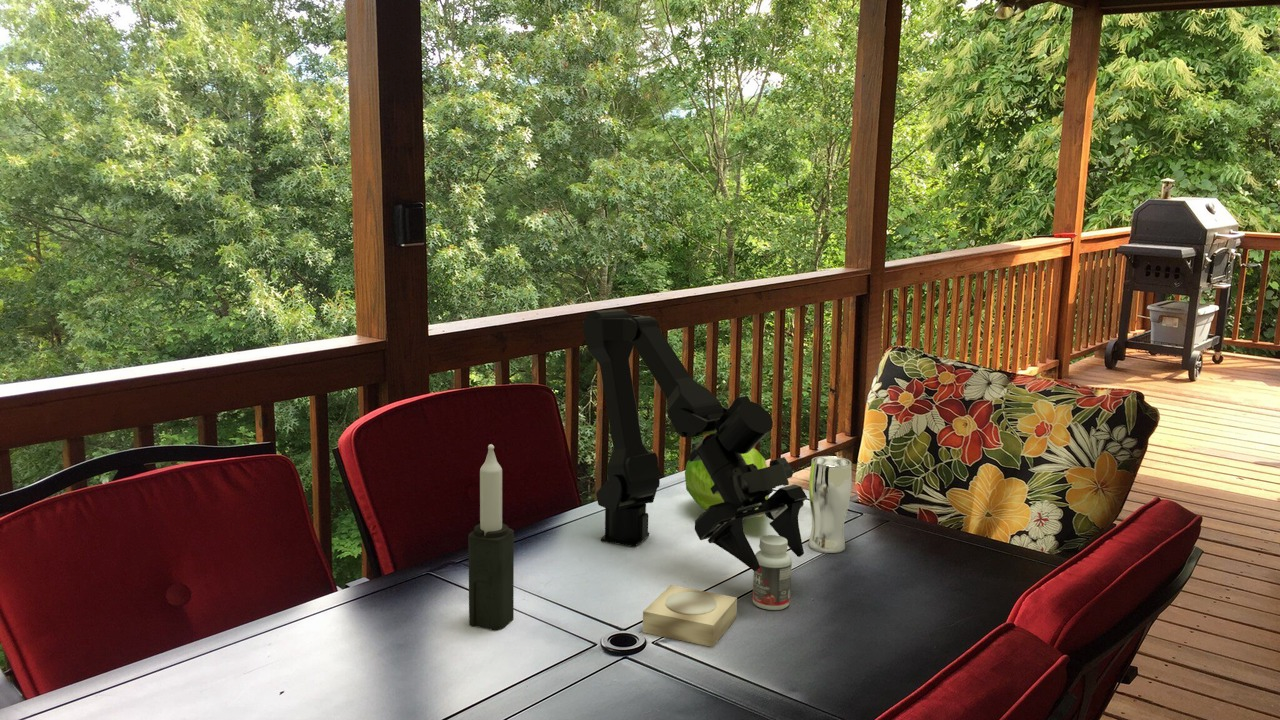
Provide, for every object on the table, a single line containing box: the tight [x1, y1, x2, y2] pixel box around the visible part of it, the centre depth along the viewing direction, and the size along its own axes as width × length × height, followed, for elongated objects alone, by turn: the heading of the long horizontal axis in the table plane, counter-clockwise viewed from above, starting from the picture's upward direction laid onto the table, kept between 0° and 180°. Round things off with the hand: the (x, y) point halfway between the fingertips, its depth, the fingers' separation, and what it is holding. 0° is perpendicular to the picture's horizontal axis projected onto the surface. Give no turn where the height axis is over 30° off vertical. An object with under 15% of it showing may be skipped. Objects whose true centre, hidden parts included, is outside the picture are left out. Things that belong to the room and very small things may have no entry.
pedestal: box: [642, 584, 738, 648], centre depth 137 cm, size 10×10×3 cm
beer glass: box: [808, 455, 853, 554], centre depth 167 cm, size 7×7×15 cm
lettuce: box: [684, 447, 770, 518], centre depth 181 cm, size 15×22×15 cm
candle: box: [467, 443, 515, 631], centre depth 135 cm, size 5×5×25 cm
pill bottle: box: [752, 534, 793, 611], centre depth 144 cm, size 5×5×10 cm
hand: (779, 562), depth 143 cm, fingers open, 9 cm apart
